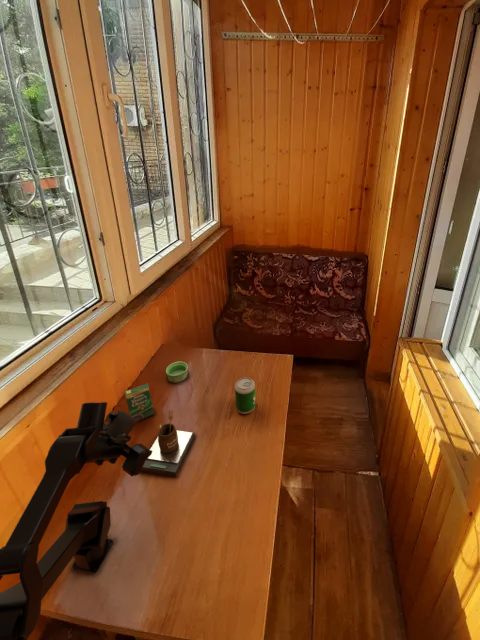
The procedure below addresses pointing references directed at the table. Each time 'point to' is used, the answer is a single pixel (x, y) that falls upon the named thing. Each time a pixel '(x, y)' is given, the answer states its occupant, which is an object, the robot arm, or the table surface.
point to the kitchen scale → (169, 456)
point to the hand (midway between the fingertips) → (140, 445)
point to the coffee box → (139, 402)
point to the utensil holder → (167, 436)
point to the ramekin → (177, 371)
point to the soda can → (245, 395)
